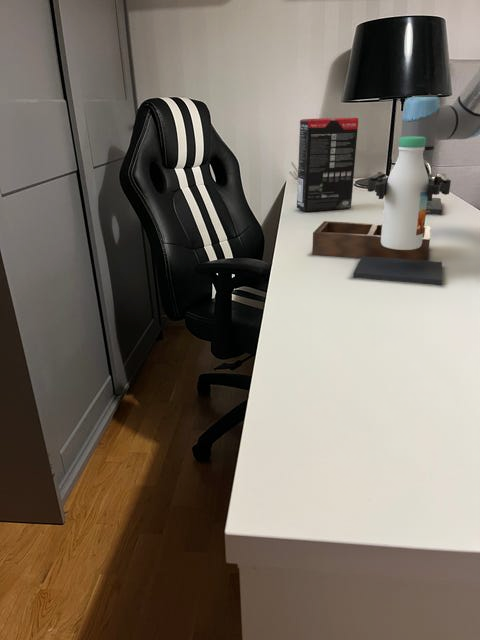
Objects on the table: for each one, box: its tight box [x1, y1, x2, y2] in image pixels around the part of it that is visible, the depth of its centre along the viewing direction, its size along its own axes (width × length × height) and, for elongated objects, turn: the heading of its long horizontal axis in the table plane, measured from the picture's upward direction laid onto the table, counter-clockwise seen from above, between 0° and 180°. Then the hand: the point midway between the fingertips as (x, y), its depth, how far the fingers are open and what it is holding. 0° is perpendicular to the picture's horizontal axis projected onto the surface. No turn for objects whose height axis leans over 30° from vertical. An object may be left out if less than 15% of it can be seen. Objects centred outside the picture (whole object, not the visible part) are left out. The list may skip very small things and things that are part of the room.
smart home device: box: [426, 197, 443, 215], centre depth 158 cm, size 8×2×20 cm
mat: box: [352, 256, 443, 286], centre depth 99 cm, size 16×12×1 cm
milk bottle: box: [381, 136, 429, 250], centre depth 94 cm, size 8×8×20 cm
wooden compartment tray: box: [311, 220, 432, 261], centre depth 113 cm, size 24×12×5 cm, turn 70°
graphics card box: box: [296, 117, 359, 212], centre depth 155 cm, size 17×7×27 cm, turn 109°
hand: (405, 192), depth 89 cm, fingers closed on milk bottle, 8 cm apart
